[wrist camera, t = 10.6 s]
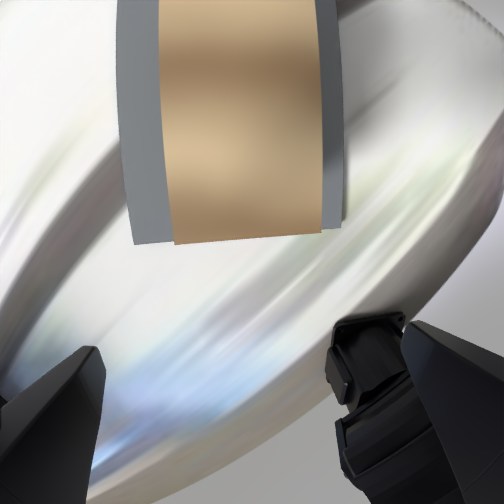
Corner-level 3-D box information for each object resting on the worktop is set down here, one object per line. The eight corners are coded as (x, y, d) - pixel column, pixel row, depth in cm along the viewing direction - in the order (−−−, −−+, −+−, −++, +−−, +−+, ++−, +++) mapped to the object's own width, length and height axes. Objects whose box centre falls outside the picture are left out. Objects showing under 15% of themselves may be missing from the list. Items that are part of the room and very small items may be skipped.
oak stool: (288, 199, 18) (321, 232, 13) (186, 207, 18) (174, 244, 12) (280, 6, 14) (309, -39, 8) (175, 9, 13) (160, -37, 8)
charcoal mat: (330, -10, 14) (334, -13, 13) (337, 225, 20) (341, 228, 19) (120, -3, 13) (117, -6, 12) (136, 241, 19) (134, 245, 18)
